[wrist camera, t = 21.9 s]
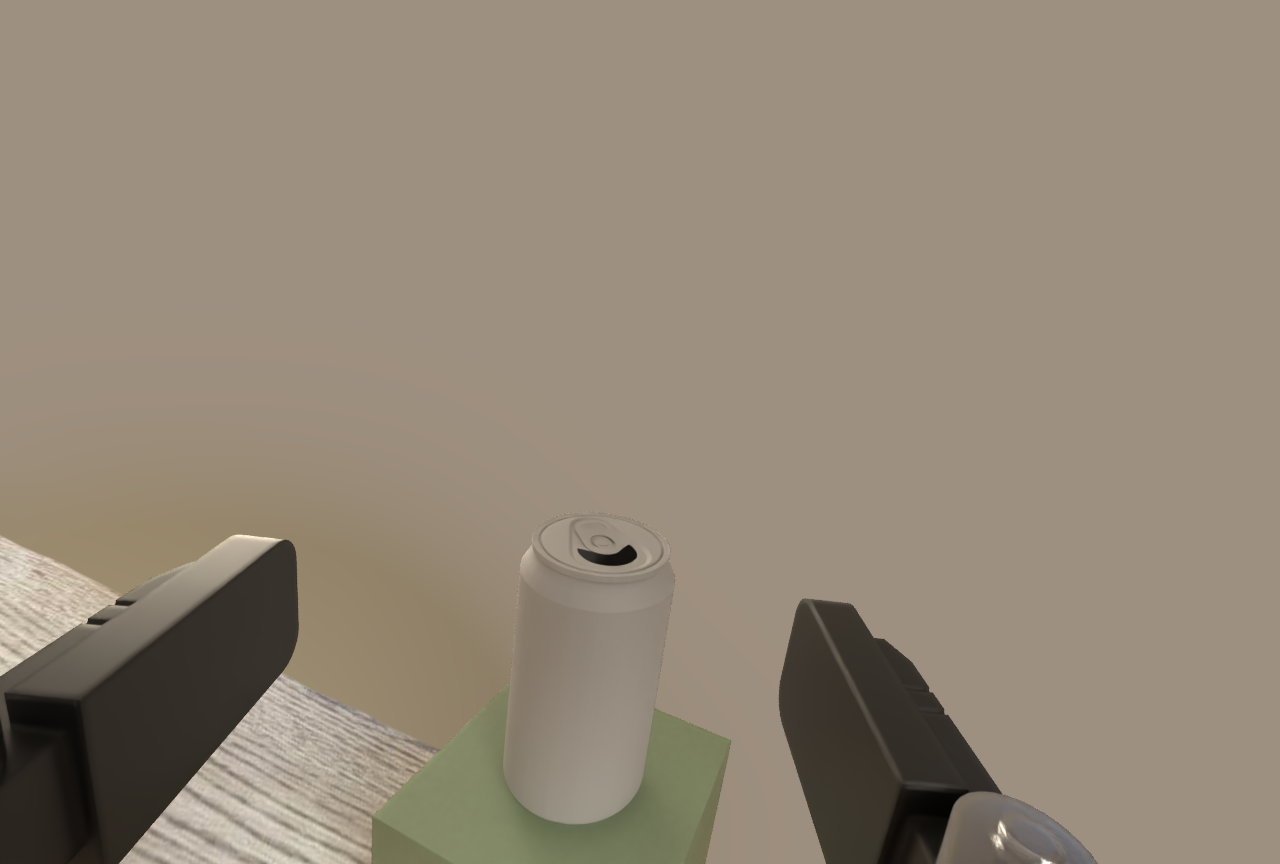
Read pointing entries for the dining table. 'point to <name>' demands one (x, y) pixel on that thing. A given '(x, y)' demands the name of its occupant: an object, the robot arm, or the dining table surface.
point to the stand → (538, 848)
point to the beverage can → (586, 664)
